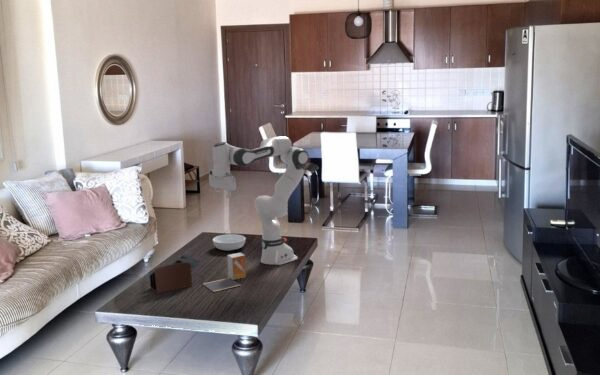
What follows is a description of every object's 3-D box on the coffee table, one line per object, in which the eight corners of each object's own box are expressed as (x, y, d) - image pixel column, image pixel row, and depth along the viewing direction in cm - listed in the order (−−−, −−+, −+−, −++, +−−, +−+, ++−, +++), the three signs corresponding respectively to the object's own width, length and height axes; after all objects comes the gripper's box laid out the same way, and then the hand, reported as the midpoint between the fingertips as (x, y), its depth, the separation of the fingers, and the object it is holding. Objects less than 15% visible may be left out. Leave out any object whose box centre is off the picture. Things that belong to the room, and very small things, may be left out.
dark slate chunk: (165, 273, 335) (164, 265, 334) (176, 261, 356) (176, 253, 355) (191, 273, 333) (190, 266, 332) (201, 261, 355) (200, 253, 354)
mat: (229, 278, 323) (229, 277, 323) (241, 285, 311) (241, 285, 311) (202, 284, 315) (202, 283, 315) (213, 292, 303) (213, 291, 303)
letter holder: (192, 286, 314) (190, 260, 311) (156, 294, 303) (154, 268, 300) (185, 280, 322) (184, 256, 319) (150, 288, 312) (148, 263, 309)
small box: (233, 280, 320) (232, 257, 317) (228, 277, 325) (226, 254, 322) (246, 277, 324) (245, 254, 321) (241, 274, 329) (240, 252, 326)
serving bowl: (244, 253, 367) (243, 242, 365) (210, 254, 367) (210, 243, 366) (247, 243, 387) (247, 233, 386) (215, 244, 387) (215, 234, 386)
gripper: (238, 173, 316) (239, 198, 319) (215, 169, 331) (217, 193, 334) (228, 175, 312) (230, 200, 315) (206, 171, 327) (208, 195, 329)
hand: (223, 196), depth 324 cm, fingers open, 8 cm apart
